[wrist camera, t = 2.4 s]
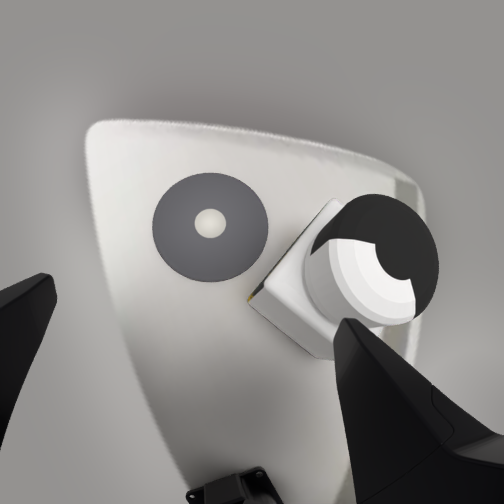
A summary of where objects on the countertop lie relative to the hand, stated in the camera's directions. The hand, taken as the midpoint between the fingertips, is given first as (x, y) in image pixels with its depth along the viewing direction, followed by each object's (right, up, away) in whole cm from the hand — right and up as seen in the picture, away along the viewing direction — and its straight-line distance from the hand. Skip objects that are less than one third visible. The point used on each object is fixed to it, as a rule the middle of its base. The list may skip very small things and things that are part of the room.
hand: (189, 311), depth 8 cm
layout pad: (-1, +4, +15) cm, 16 cm away
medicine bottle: (+6, -2, +15) cm, 16 cm away
